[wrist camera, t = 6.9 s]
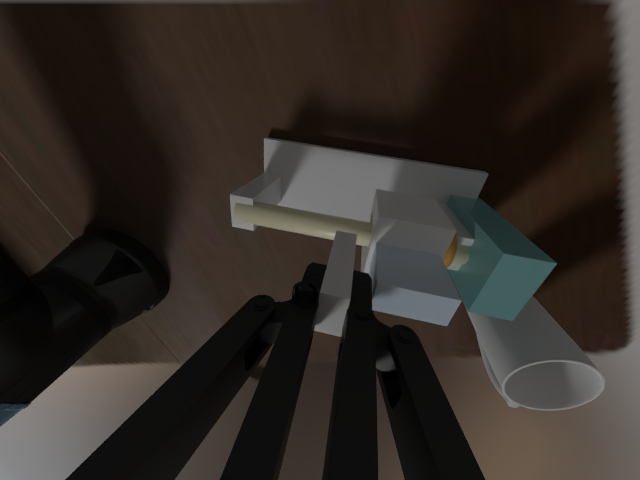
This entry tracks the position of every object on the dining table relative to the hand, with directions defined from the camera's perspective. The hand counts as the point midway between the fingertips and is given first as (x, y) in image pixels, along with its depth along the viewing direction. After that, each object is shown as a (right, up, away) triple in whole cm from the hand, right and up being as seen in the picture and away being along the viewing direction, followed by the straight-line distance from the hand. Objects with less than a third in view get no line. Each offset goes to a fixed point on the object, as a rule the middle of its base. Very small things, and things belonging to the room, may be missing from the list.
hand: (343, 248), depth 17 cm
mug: (+19, -7, +13) cm, 24 cm away
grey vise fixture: (+3, +5, +9) cm, 11 cm away
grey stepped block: (+5, +2, +5) cm, 7 cm away
